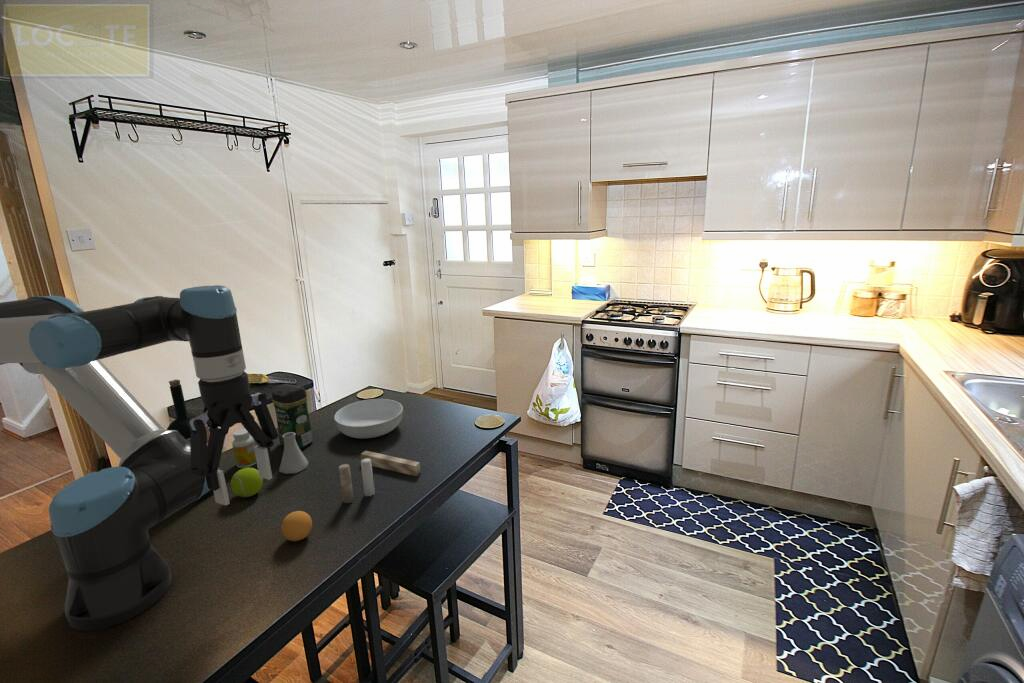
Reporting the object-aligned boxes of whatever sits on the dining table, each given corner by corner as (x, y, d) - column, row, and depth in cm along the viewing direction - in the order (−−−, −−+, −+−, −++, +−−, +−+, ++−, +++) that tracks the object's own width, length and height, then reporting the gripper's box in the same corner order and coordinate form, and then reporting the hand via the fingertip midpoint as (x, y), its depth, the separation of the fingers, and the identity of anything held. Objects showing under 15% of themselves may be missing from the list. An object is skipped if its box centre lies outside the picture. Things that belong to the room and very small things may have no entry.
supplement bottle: (231, 466, 134) (225, 434, 131) (247, 457, 138) (241, 426, 136) (246, 469, 132) (240, 437, 129) (262, 460, 137) (256, 428, 134)
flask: (297, 476, 128) (292, 441, 125) (273, 473, 129) (267, 439, 127) (313, 462, 135) (308, 429, 132) (290, 460, 136) (285, 428, 134)
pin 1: (345, 504, 115) (340, 470, 112) (342, 499, 117) (337, 466, 114) (355, 500, 116) (350, 467, 114) (352, 496, 118) (347, 463, 115)
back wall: (420, 472, 128) (419, 462, 127) (416, 476, 126) (415, 466, 125) (366, 460, 135) (365, 450, 134) (362, 463, 133) (360, 453, 132)
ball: (287, 551, 99) (282, 526, 97) (281, 536, 104) (276, 512, 102) (317, 539, 102) (313, 515, 101) (310, 525, 107) (306, 501, 106)
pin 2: (366, 497, 117) (362, 464, 115) (363, 493, 119) (359, 460, 116) (376, 494, 118) (372, 461, 116) (372, 490, 120) (368, 457, 118)
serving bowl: (322, 442, 146) (319, 421, 145) (362, 415, 166) (359, 396, 164) (382, 450, 140) (380, 428, 139) (416, 420, 160) (414, 401, 158)
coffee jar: (275, 445, 145) (265, 387, 141) (298, 434, 152) (289, 379, 147) (295, 452, 140) (285, 393, 135) (318, 441, 147) (309, 384, 142)
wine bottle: (164, 503, 117) (135, 387, 110) (206, 482, 126) (181, 373, 118) (183, 511, 114) (154, 392, 106) (224, 489, 123) (201, 377, 115)
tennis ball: (254, 484, 124) (249, 459, 123) (270, 491, 121) (266, 466, 119) (227, 498, 119) (222, 472, 117) (243, 506, 115) (238, 480, 113)
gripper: (174, 399, 73) (203, 527, 79) (287, 359, 92) (304, 466, 98) (144, 393, 77) (174, 517, 82) (260, 356, 95) (278, 459, 101)
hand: (245, 489), depth 90 cm, fingers open, 8 cm apart
